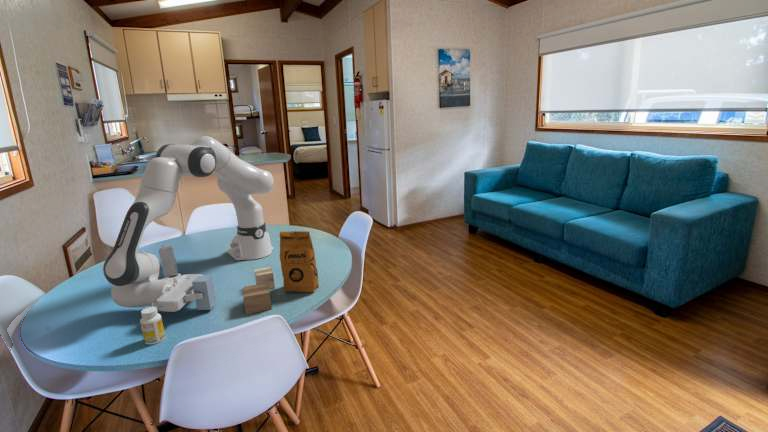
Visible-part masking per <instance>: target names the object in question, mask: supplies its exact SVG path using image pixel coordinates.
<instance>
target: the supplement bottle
mask: <svg viewBox="0 0 768 432" xmlns="http://www.w3.org/2000/svg"><path fill="white" fill-rule="evenodd" d="M158 312H159V310H158V309H157V308H156V307H150V306H147V307H144V309H142V310H141V311H140V313H141V314H140V315H141V318H140V320H139V323H140V328H141V332H142V337H143V341H144V344H146V345H151V346H152V345H156V344H159V343H161V342H162V341H163V340H165V339H166V332H165V328H164V324H163V319H162V318H163V317H162V315H161V314H160V313H158Z"/></svg>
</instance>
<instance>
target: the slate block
mask: <svg viewBox="0 0 768 432" xmlns="http://www.w3.org/2000/svg"><path fill="white" fill-rule="evenodd" d="M192 285H193V291H194V294H195V293H198V292H203V293H204V297H203V298H202V299H196V300H194V301H195V307H196V311H211V310H212V309H213V308H214V307H215V306H216V304H217V299H216V298H217V297H216V293H215V287H214V286H215V285H214V280H213V275H204V276H198V277H197V278H196V279H195V280H194V281H192Z"/></svg>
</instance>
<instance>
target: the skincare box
mask: <svg viewBox="0 0 768 432" xmlns="http://www.w3.org/2000/svg"><path fill="white" fill-rule="evenodd" d="M158 254H159V261H160V265H161V268H162V274H163V276H164V277H163V278H167V277H170V276H172V275H174V274H179V270H178V266H177V261H176V257H175V253H174V247H173V245H172V244H167V245H162V246H161V245H160V247H159V249H158Z"/></svg>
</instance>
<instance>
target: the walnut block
mask: <svg viewBox="0 0 768 432" xmlns="http://www.w3.org/2000/svg"><path fill="white" fill-rule="evenodd" d="M270 292H271V291H270V289H269V283H264V284H258V285H256V284H253V285H247V286H243V294H242V295H243V303H244V311H245V314H246V315H248V314H253V313H258V312H264V311H270V310H272V309H273V308H272V301H271V300H272V299H271V293H270Z"/></svg>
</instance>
